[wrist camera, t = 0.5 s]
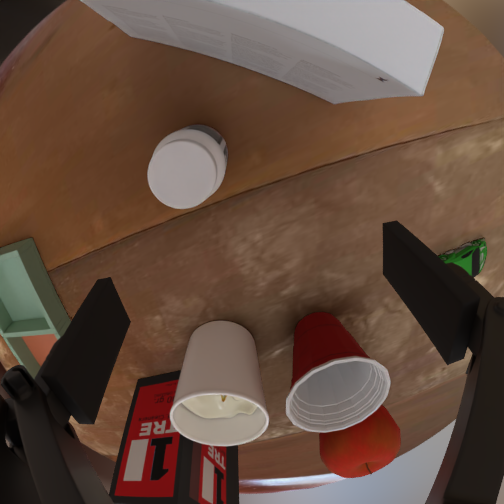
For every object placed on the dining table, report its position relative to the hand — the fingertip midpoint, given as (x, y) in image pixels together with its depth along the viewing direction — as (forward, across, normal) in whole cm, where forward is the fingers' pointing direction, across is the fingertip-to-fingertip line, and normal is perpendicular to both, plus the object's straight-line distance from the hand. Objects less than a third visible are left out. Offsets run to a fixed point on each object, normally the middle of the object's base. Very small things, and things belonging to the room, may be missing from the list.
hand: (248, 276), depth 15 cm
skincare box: (+18, +3, +14) cm, 23 cm away
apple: (+18, +9, -36) cm, 42 cm away
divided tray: (+18, -31, -11) cm, 38 cm away
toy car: (+18, +26, -14) cm, 34 cm away
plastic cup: (+18, +6, -19) cm, 27 cm away
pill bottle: (+18, -3, +4) cm, 19 cm away
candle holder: (+18, -6, -19) cm, 27 cm away
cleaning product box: (+18, -14, -31) cm, 39 cm away
